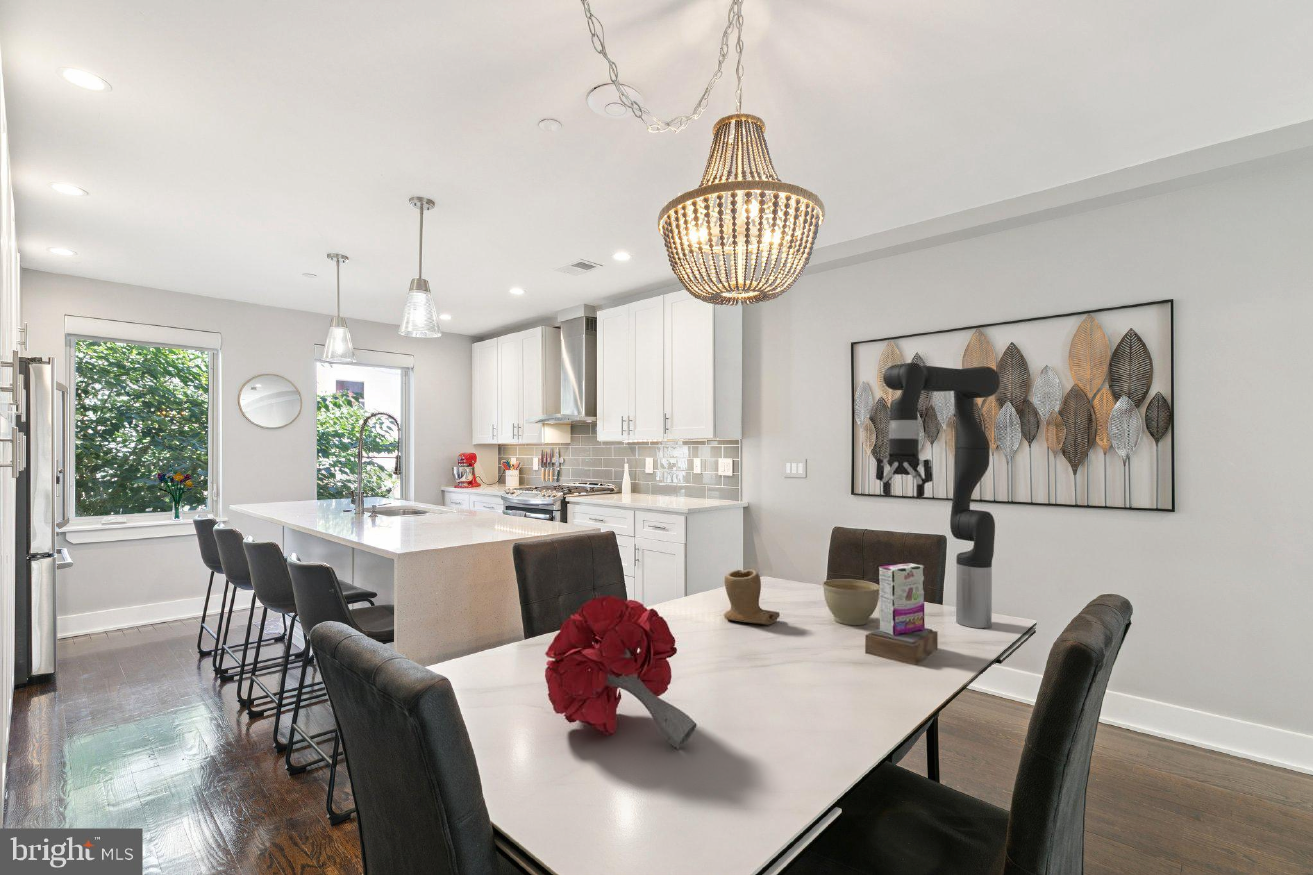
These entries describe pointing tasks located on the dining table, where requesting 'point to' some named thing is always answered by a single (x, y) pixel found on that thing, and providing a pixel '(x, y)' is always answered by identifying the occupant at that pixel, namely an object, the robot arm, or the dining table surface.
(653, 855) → the dining table surface
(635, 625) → the bouquet
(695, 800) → the dining table surface
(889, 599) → the candy bar box
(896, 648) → the stand
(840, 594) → the planter bowl
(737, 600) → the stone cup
